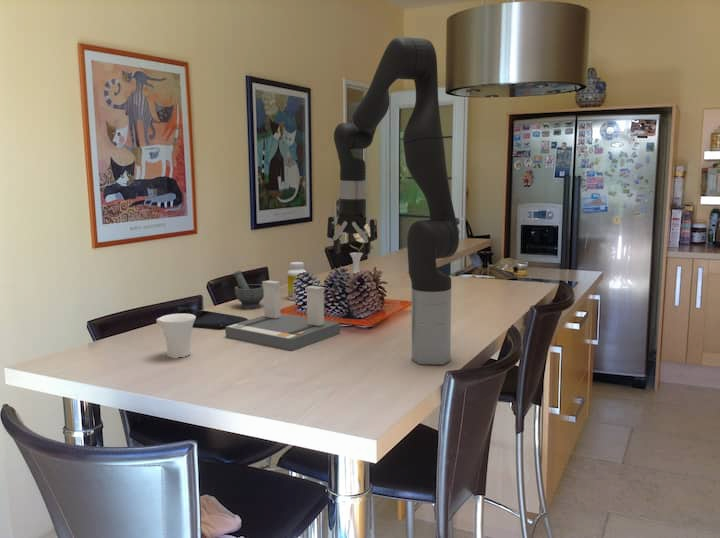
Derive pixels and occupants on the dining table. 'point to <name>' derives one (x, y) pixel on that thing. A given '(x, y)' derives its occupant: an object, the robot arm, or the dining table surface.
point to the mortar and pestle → (248, 292)
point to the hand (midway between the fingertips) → (351, 254)
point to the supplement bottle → (294, 276)
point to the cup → (177, 333)
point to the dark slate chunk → (210, 318)
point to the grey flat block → (282, 331)
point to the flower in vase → (358, 255)
